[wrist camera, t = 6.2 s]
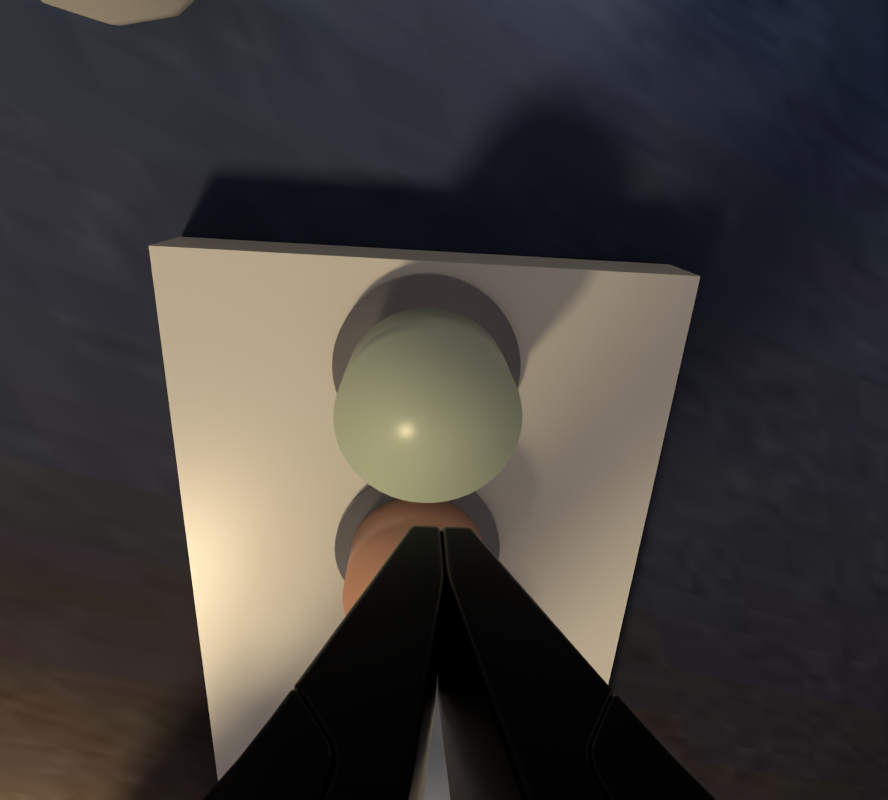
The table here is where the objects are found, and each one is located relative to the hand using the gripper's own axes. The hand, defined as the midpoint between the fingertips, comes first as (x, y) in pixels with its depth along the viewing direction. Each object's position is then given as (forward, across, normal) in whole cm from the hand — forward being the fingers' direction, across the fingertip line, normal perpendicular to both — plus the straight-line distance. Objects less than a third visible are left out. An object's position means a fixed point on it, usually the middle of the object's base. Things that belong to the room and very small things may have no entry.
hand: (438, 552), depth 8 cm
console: (+10, 0, +9) cm, 13 cm away
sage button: (+6, 0, 0) cm, 6 cm away
